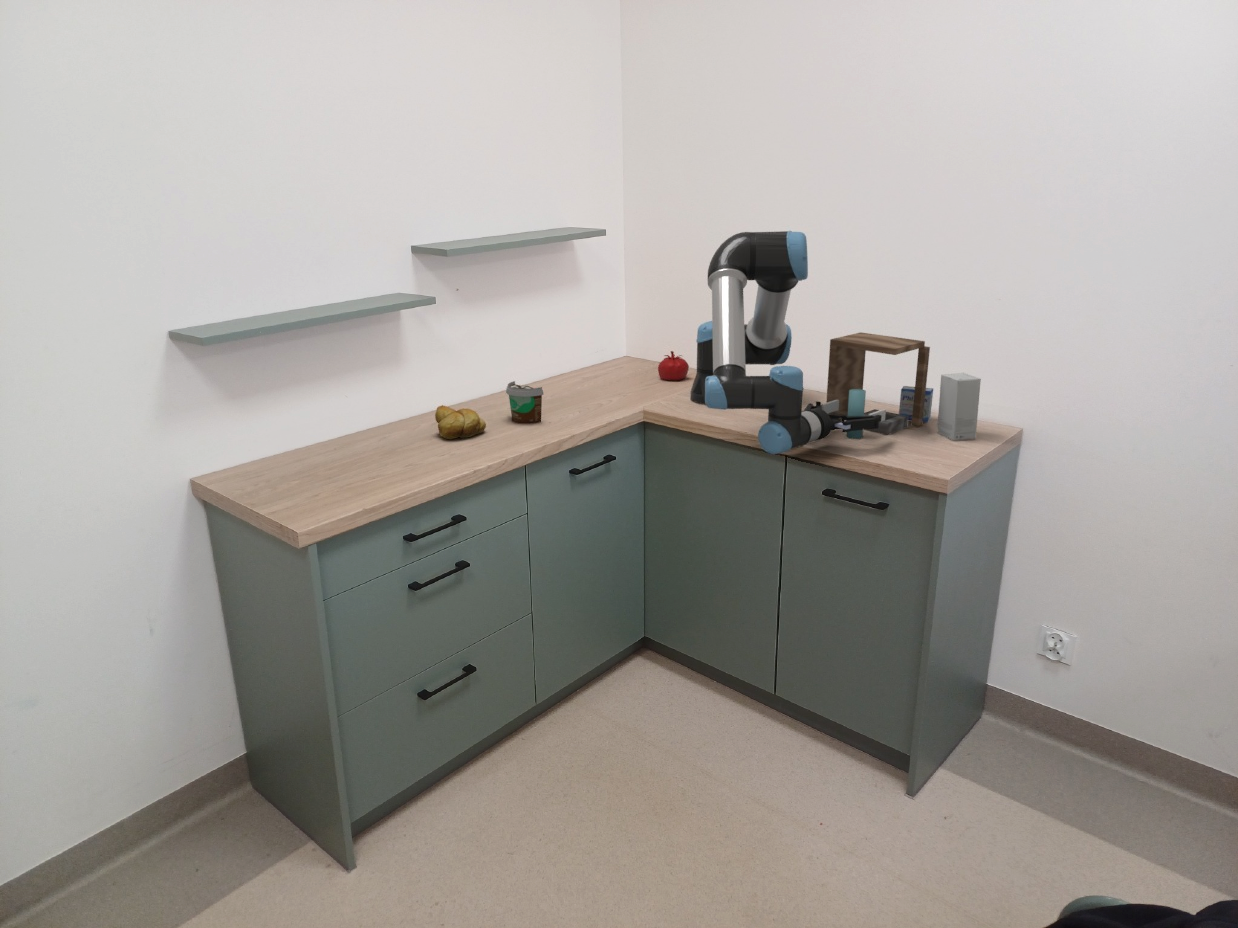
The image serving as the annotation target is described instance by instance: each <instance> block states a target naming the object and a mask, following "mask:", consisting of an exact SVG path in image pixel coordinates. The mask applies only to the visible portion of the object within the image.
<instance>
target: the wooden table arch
mask: <svg viewBox="0 0 1238 928" xmlns="http://www.w3.org/2000/svg"><path fill="white" fill-rule="evenodd" d="M829 341H830V342H829V352H828V353H829V356H828V371H827V372H828V373H827V374H828V375H827V386H826V387H827V388H826V401H825V403H827V402H830V401H834V400H839V410H837V411H834V412H831V413H828V414H844V415H845V416H848V402H849V390H851V389H862V390H864V379H865V364H866V354H867V353H866V352H872V353H873V352H874V353H879V354H887V355H890V356H891V355H893V356H897V355H900V354H905V353H907V352H910V351H916V350H918V351H917V361H916V372H915V374H916V375H915V384H914V387H915V393H914V403H913V414H912V421H911V427H916V428H920V427H922V426H923V423H924V422H923V413H924V403H925V393H926V388H927V382H928V381H927V380H928V373H929V372H928V370H929V360H930V353H931V351H930V349H931V346H926V345H925V344H926V341H925V340H918V339H912V338H910V339H909V338H905V337H904V338H903V337H898V336H897V337H896V336H890V335H883V334H875V333H869V332H857V333H852V334H847V335H844V336H839V337H834V338H831V339H830V340H829ZM879 410H880V409H876V408H875V409H874V408H873V409H872V410H868V411H864V416H868V414H870V413H873V412H876V411H879ZM840 422H842V418H840ZM908 425H909V421H908V416H905V415H900V414H899V413H894V412H890V411H886V415H885V420H884V421H882V422H879V426H878V428H877V429H872V430H871V429H867V430H866V431H867V432H872V433H876V434H880V435H884V436H888V435H890V434H893V433H896V432H898V431H901V430H904V429H906V428H908Z"/></svg>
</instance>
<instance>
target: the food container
mask: <svg viewBox="0 0 1238 928" xmlns="http://www.w3.org/2000/svg"><path fill="white" fill-rule="evenodd" d="M505 389H506V390H505V394H506V395H508V399H509V405H510V413H511V420H512V422H513V423H514V424H515V423H516V424H522V425H529V424H537V423H538V424H539V423H542V405H543V404H542V402H543V399H542V397H543V395H544V390H543V387H541V386H539V387H534V388H533V387H531V386H529V385H521V384H519V385H518V384H516V380H514V381H511V382H509V383H507V386H506V388H505Z"/></svg>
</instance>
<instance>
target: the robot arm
mask: <svg viewBox="0 0 1238 928" xmlns="http://www.w3.org/2000/svg"><path fill="white" fill-rule="evenodd" d="M807 242H808V241H807V236H806V234H805V233H804V232H801V231H791V230H787V231H786V230H785V231H782V230H781V231H754V232H753V231H742V232H740V233H739V232H738V233H736V234H733V235H732V236H730V237H728V238H726V240H724V241H723V242H722V243H721V244H720V246H718V248H716V250H715V252H714V254H713V256H712V258H711V259H710V261H709V265H708V269H707V286H708V288H709V289H710V290H711V315H712V316H711V317H712V319H711V320H710V321H706V322H704V323H702V324H700V325H699V326H698V328H697V334H696V340H695V342H696V344H697V345H696V346H697V347H696V373H695V377H694V381H693V383H692V386H691V390H690V400H691V401H692V402H694V403H697V404H702V405H705V406H706V407H707V408H708V409H715V410H737V409H738V410H740V409H741V410H742V409H743V410H746V409H748V410H750V409H751V410H768V412H767V414H768V415H767V422H766V423H764V424H762V425H761V426H760V428H759V430H758V433H757V439H758V443H759V445H760V447H761V448H762V450H764V452H766V453H768V454H771V455H777V454H781V453H787V452H789V451H790V450H793V449H796V448H798V447H802V448H803V447H804V446H805V445H807V444H809V443H810V444H811V443H814V442H816V441H820V440H822V439H825V438H827V437H828V435H830V433H831V432H832V431H835V430H842V431H841V433H844V434H846V432H850V431H857V430H863V431H867V429H871V430H872V429H877V428H878V426H879V422H882V421H884V420H885V415H886V412H887V409H884V408H883V409H878V410H879V411H876V412H873V413H870V414H868V416H845V415H844V414H828V413H831V412H834V411H837V410H839V400H834V401H830V402H827V403H826V402H825V403H822V402H821V401H819V400H817V401H815V405H814V403H812V402H811V403H808V404H807V405H806V407H805V408H804V409H803V410H802V408H803V407H802V406H803V395H804V372H803V371H802V369H801V368H800V367H796V366H792V365H783V364H784V363H786V362H787V360H788V359H789V356H790V353H791V348H792V340H793V339H792V338H793V337H792V329H791V327H790V326H789V324H786V323H785V320H786V315H787V311H788V305H789V301H790V296H791V291H792V290H793V289H794V288H795V287H796V286H797V285H798V283H799V282H800V281H801V282H802V281H805V280H807V279H808V277H809V275H808V274H809V271H808V270H809V264H808V261H809V260H808V259H809V258H808V243H807ZM748 281H755V282H756V284H757V291H756V299H755V305H754V312H753V317H751V318H750V320H749V321H748V323H746V324H745V307H744V303H745V302H744V288H745V287H746V286H747V283H748ZM746 365H769V366H773V367H772V368H771V369H770V370H769V374H768V375H747V374H746V372H747V371H746V369H747V368H746ZM775 365H776V366H775ZM777 365H778V366H777ZM840 418H842V420H841V421H840Z"/></svg>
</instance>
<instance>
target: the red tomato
mask: <svg viewBox="0 0 1238 928" xmlns="http://www.w3.org/2000/svg"><path fill="white" fill-rule="evenodd" d="M674 353H675V352H674V351H673V350H670V355H669V354H667V355H663V356H664V358H663V359H662V360H661V361H660V362H659V364H658V367H657V371H658V376H659V377H660V379H661V380H664V381H672V382H674V381H675V382H676V381H677V382H678V381H681V380H683V379H685V378H686V377H687V375H688V374H689V373H688V372H689V368H690V366H689V364H688V362H687V361H686V360H685V359H684V358H683V355H682V354H681V355H680V354H679V355H676V356H675V354H674Z"/></svg>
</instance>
